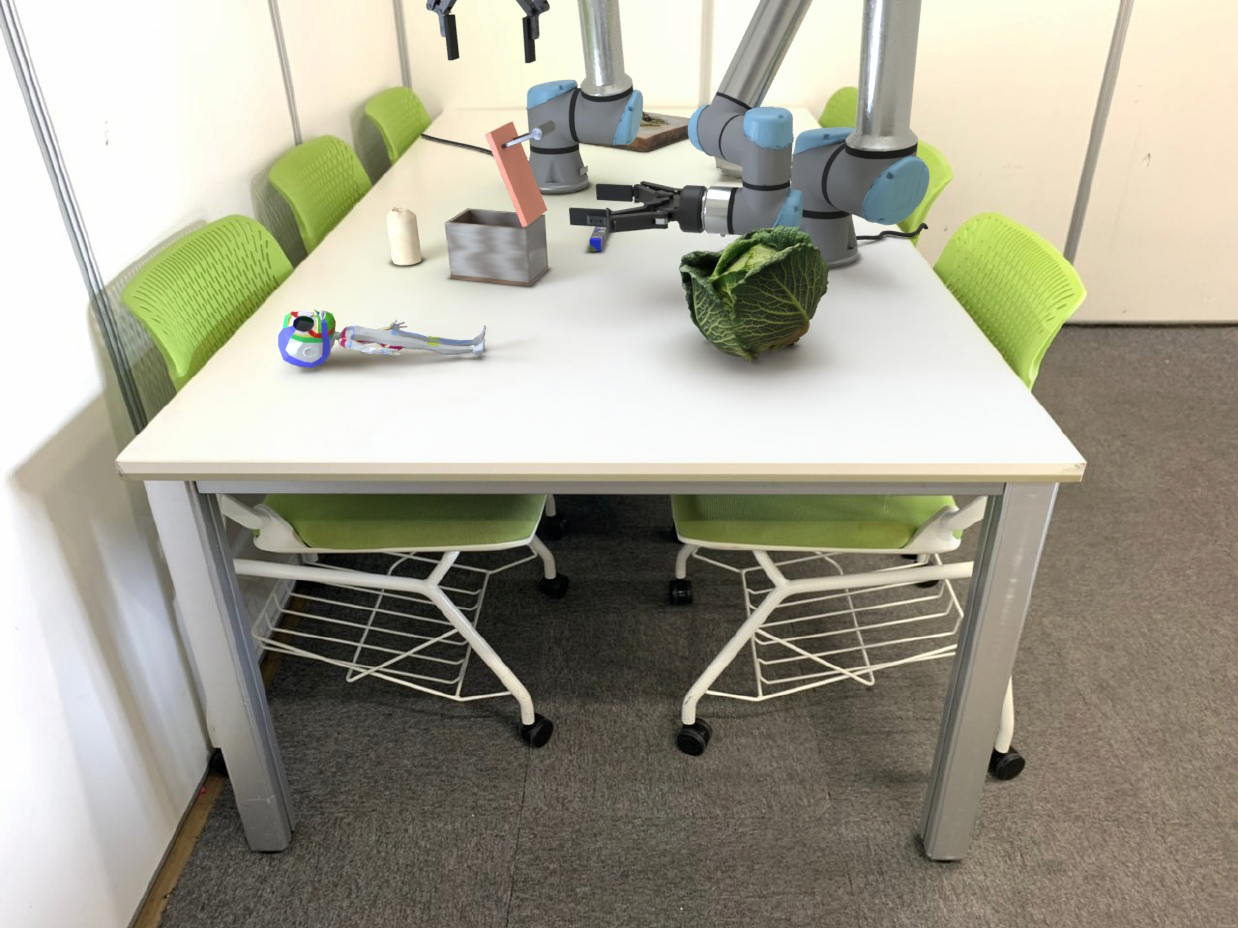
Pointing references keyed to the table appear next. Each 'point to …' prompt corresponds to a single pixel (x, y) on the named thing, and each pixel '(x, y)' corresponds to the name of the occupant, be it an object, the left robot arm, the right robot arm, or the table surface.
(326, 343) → the toy
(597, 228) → the pillar
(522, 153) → the lid
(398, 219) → the candle
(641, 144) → the plaque
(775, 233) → the vegetable
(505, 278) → the chest
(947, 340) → the table surface
